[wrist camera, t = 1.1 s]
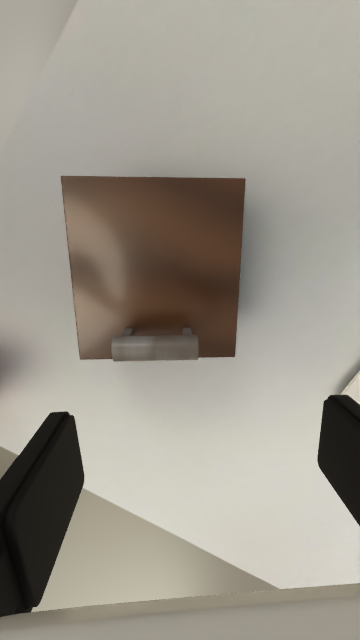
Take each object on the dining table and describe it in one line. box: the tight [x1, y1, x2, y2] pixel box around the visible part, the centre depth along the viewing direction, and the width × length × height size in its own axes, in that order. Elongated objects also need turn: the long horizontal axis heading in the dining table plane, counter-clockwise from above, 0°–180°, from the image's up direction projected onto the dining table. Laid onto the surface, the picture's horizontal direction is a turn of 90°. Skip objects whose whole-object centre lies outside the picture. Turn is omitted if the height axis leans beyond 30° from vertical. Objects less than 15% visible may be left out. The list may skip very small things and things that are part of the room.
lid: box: [61, 176, 246, 361], centre depth 19 cm, size 15×14×6 cm
